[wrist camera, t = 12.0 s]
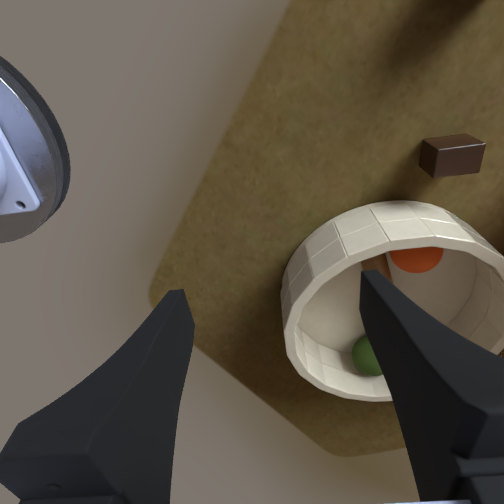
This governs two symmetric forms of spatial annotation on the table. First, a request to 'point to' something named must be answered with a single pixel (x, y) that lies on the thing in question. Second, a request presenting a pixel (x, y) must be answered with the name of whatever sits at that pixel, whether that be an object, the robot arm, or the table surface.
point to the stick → (378, 265)
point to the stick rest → (451, 155)
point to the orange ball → (417, 258)
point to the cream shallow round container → (411, 284)
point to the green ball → (365, 358)
